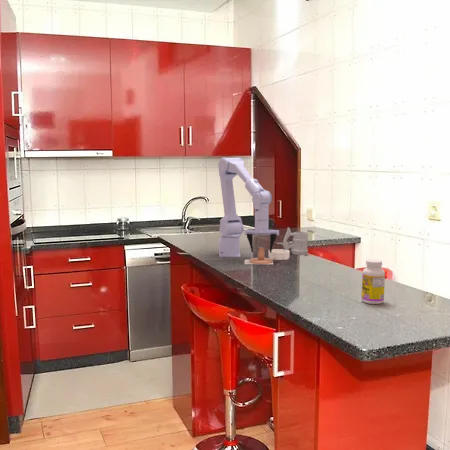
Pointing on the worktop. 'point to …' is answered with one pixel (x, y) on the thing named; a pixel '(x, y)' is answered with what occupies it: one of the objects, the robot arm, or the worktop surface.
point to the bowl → (279, 254)
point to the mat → (251, 263)
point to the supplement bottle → (373, 282)
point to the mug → (296, 242)
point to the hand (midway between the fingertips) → (261, 252)
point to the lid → (261, 257)
